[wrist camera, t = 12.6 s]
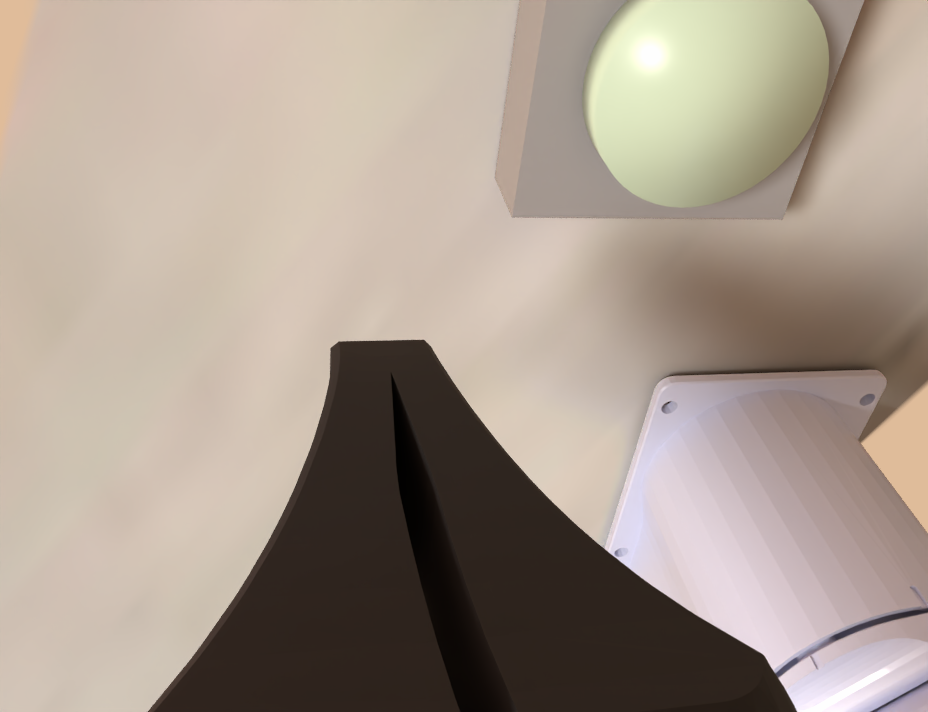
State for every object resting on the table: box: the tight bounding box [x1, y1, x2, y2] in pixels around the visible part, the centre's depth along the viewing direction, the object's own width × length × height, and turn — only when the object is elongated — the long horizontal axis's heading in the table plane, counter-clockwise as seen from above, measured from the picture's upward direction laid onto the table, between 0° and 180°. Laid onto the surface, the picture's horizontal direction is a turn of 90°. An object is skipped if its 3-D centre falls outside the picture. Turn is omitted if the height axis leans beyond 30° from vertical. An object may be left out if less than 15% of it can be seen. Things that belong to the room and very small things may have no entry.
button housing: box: [495, 0, 864, 220], centre depth 20 cm, size 7×7×2 cm
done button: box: [582, 0, 829, 208], centre depth 19 cm, size 5×5×3 cm
